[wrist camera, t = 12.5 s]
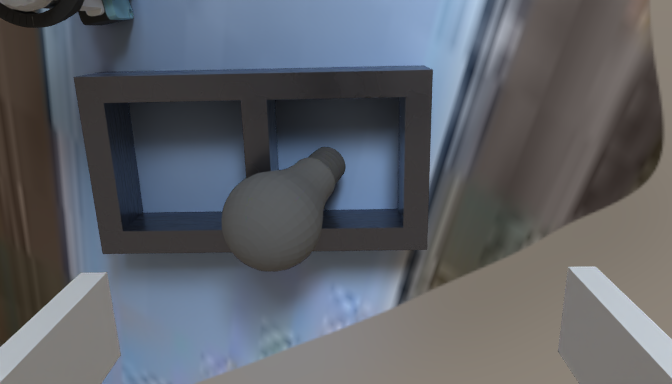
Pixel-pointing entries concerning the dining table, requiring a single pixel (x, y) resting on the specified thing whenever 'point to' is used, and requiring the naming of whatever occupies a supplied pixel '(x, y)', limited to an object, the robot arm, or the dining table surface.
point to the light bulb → (281, 211)
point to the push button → (64, 11)
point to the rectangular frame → (250, 152)
